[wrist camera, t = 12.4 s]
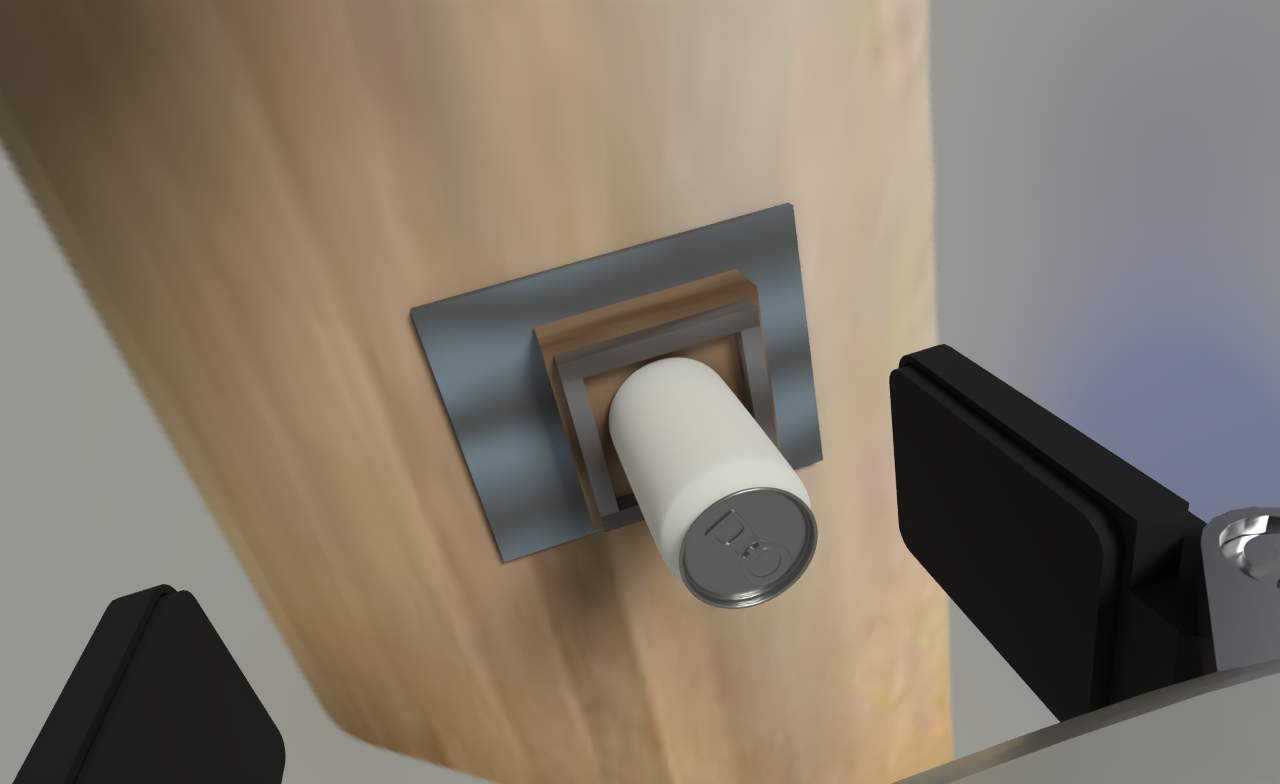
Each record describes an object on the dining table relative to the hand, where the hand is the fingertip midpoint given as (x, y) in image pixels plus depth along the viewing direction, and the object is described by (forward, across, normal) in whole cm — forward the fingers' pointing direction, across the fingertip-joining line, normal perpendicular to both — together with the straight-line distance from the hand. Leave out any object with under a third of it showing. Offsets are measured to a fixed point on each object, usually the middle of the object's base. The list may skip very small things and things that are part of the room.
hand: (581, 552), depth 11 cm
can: (+27, -6, +14) cm, 31 cm away
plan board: (+30, -6, +14) cm, 34 cm away
